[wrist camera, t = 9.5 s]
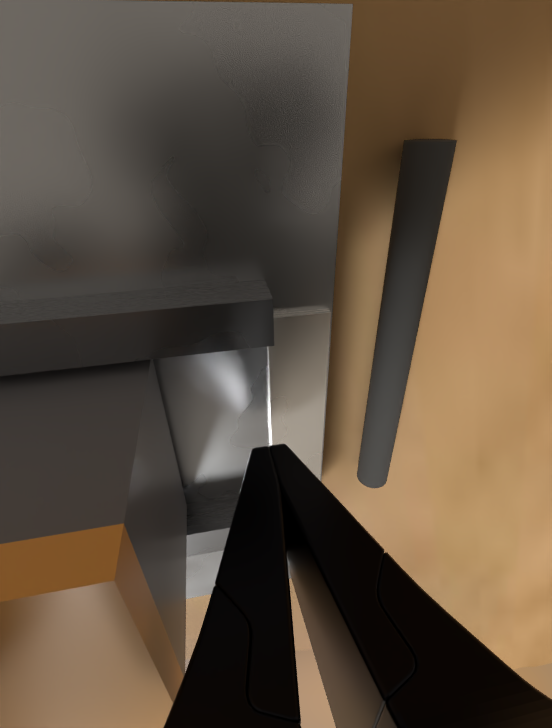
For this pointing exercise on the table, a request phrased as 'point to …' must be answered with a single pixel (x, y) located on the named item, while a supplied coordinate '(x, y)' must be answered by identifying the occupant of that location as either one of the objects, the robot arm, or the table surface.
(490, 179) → the table surface
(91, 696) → the toggle
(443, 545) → the table surface
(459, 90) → the table surface
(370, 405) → the dark grey rod
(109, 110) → the panel
